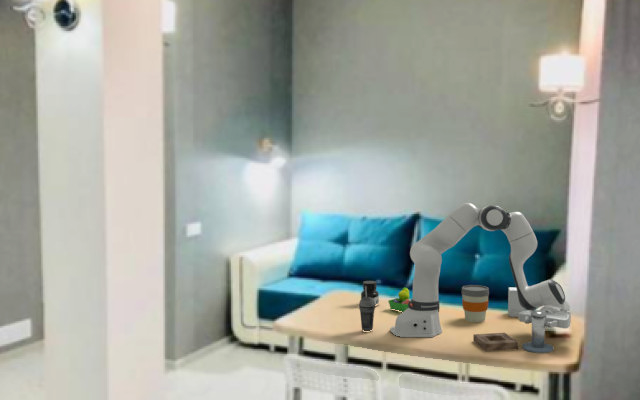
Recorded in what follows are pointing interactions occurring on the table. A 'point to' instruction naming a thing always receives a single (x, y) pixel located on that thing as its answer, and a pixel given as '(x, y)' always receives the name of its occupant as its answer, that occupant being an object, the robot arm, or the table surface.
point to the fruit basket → (400, 301)
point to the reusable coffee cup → (475, 302)
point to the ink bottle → (370, 291)
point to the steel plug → (538, 328)
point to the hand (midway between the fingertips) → (537, 323)
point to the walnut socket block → (495, 341)
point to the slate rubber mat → (529, 348)
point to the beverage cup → (367, 312)
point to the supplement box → (514, 303)
